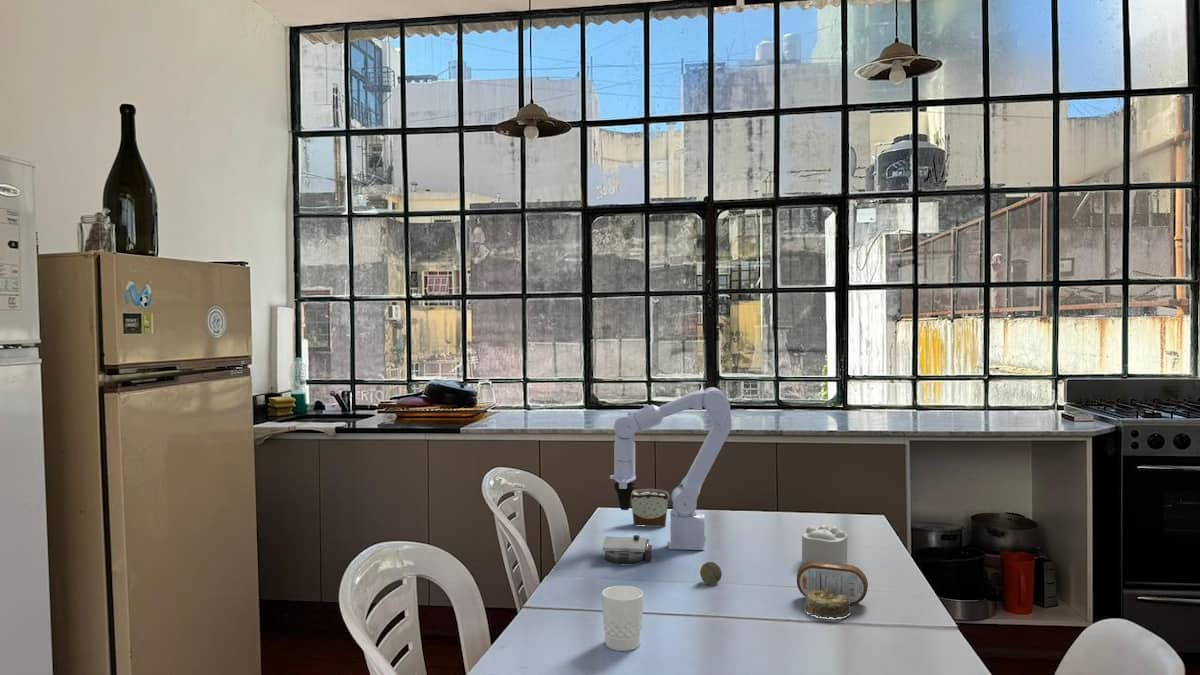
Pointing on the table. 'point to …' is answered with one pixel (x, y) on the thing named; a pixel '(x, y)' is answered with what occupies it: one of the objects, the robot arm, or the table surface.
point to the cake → (826, 604)
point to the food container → (649, 507)
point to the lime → (710, 573)
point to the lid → (626, 544)
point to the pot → (628, 556)
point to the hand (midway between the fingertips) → (624, 509)
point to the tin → (833, 580)
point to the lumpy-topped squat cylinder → (824, 545)
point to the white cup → (622, 617)
